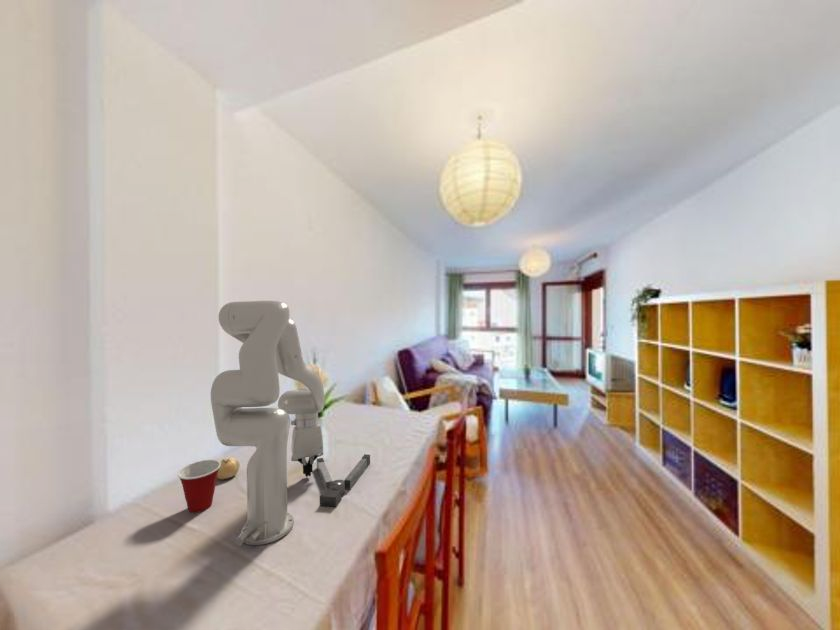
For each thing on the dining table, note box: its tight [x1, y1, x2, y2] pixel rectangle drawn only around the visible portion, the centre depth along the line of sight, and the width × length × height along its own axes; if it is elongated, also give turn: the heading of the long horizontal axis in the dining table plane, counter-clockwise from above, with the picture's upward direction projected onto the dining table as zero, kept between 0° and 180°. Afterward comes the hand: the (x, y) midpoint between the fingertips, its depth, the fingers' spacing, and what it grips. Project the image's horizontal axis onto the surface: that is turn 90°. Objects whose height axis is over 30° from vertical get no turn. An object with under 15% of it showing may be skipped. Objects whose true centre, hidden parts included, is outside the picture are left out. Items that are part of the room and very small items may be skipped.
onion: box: [217, 457, 241, 480], centre depth 117 cm, size 8×8×7 cm
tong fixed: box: [319, 453, 371, 509], centre depth 110 cm, size 30×6×3 cm, turn 170°
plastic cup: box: [177, 459, 221, 514], centre depth 97 cm, size 11×11×12 cm
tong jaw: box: [316, 457, 346, 498], centre depth 112 cm, size 25×5×4 cm, turn 25°
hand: (307, 474), depth 114 cm, fingers closed
